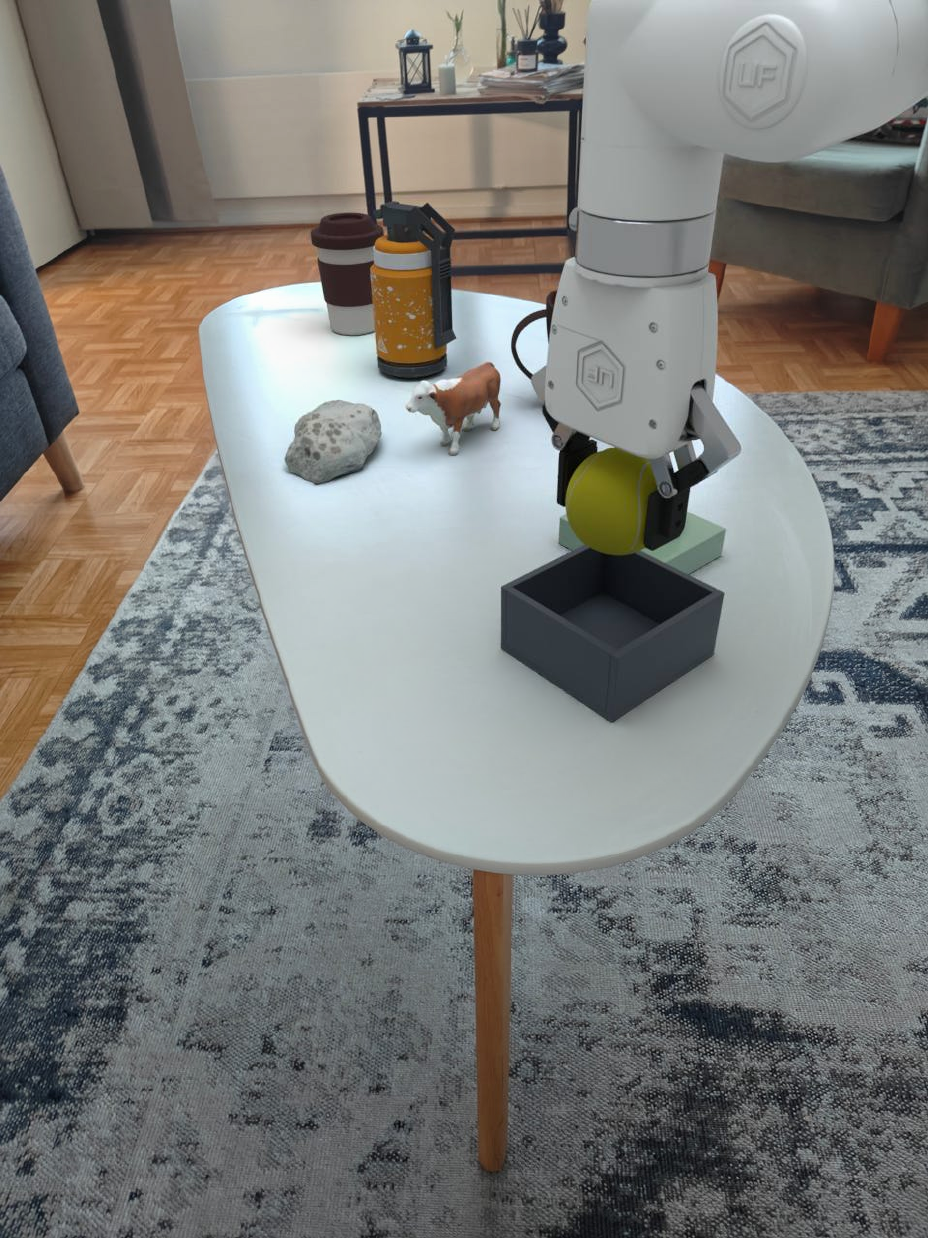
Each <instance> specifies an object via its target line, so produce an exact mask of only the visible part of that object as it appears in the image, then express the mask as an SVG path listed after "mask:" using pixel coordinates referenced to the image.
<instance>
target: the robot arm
mask: <svg viewBox="0 0 928 1238" xmlns="http://www.w3.org/2000/svg"><path fill="white" fill-rule="evenodd" d="M587 9H588V10H587V20H586V31H585V50H584V69H583V86H582V87H583V91H582V110H581V125H580V126H581V127H580V128H581V129H580V148H579V167H578V168H579V170H578V187H577V188H578V189H577V191H578V192H577V206H576V207H574V208H573V209H572V210H571V212H570V214H569V217H568V225H569V228H570V229H571V231H574V232H575V246H574V247H575V249H574V256H573V257H570V258H568V259H566V260H565V262H564V265H563V268H562V271H561V274H560V278H559V283H558V287H557V290H556V291H557V295H556V299H555V304H554V310H553V315H552V322H551V329H550V337H549V344H548V345H547V356H546V357H547V358H546V364H545V365H544V366H542V368H540V369H538V371H536V372H535V373H533V376H532V377H531V380H530V383H531V385H532V388H533V390H534V392H535V394H536V397H537V398H538V401H539V403H540V404H541V405H542V408H541V410H542V411H541V412H542V415H543V417H544V419H545V421H546V423H547V425H548V426H549V428H550V431H551V432H552V435H551V437H550V439H551V441H550V442H551V445H552V447H553V448H554V449H555V450H556V451H559V453H558V461H557V462H558V464H557V483H556V485H557V486H556V504H557V505H559V506H561V507H563V508H566V493H567V488H568V485H569V482H570V480H571V478H572V476H573V474H574V472H575V471H576V469H577V468H578V467H579V465H580V464H581V463H582V462H583V461H584V460H585V459H586V458H588V457H589V456H591V455H592V454H594V453H596V452H598V449H599V448H598V441H599V442H600V443H601V442H602V443H604V444H606V445H609V446H611V447H612V448H614V447H616V448H618V449H621V450H623V451H625V452H628V453H630V454H633V455H636V456H638V457H641V458H646V459H649V461H650V464H651V468H652V471H653V475H654V478H655V482H656V485H657V488H658V490H656V491H654V492H652V493H651V494H650V495H649V497H648V505H647V514H646V522H645V531H644V540H643V544H644V546H645V548H647V549H649V550H651V551H654V550H656V549H658V548H660V547H661V546H663V545H665V544H667V543H669V542H671V541H673V540H674V539H676V538H678V537H679V536H680V535H681V533H682V532H683V530H684V528H685V523H686V516H687V512H688V510H689V509H688V508H689V501H690V493H691V488H692V487H696V485H699V483H701V482H703V481H705V480H706V479H708V478H709V477H711V476H713V475H715V474H716V473H718V471H719V470H720V469H722V468H723V467H725V466H726V465H728V463H730V462H731V461H732V460H734V459H735V458H737V457H738V456H739V455H740V454H741V452H742V446H741V443H740V442H739V440H738V439H737V436H736V435H735V433H734V432H733V431H732V429H731V427H729V424H728V423H727V421H726V420H725V419H724V416H722V414H721V413H720V410H719V409H718V408H717V406H716V405H715V404H714V402H713V401H714V392H715V383H716V373H717V360H718V359H717V358H718V340H719V336H718V335H719V330H718V329H719V310H718V309H719V307H718V306H719V305H718V290H717V279H716V275H715V274H714V273H712V272H709V267H710V259H711V252H712V245H713V237H714V232H715V231H714V230H715V224H716V215H717V206H718V198H719V191H720V184H721V176H722V170H723V162H724V157H725V156H724V155H728V156H732V157H735V158H739V159H742V160H743V159H744V160H749V161H752V162H753V161H754V162H761V163H785V162H791V161H797V160H799V159H800V160H801V159H803V158H806V157H808V156H811V155H815V154H817V153H819V152H821V151H824V150H826V149H829V148H832V147H834V146H836V145H838V144H841V143H843V142H845V141H847V140H850V139H853V138H855V137H858V136H862V135H864V134H866V133H869V132H872V131H874V130H876V129H878V128H881V127H882V126H883V125H885V124H887V123H888V122H890V121H892V120H893V119H895V118H896V117H897V116H900V115H901V114H902V113H904V112H905V111H907V110H908V109H909V110H910V108H912V107H913V106H915V105H916V104H918V103H919V102H920V101H922V100H923V99H925V98H926V97H927V96H928V0H590V2H589V6H588V8H587ZM590 438H592V439H590ZM698 440H700V441H701V443H702V445H703V451H702V453H700V454H699V455H698V457H697V455H696V451H695V448H694V444H693V441H698ZM672 452H673V456H674V460H675V464H676V467H677V470H676V471H675V469H674V466H673V462H672V459H671V455H670V453H672Z"/></svg>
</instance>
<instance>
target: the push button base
mask: <svg viewBox="0 0 928 1238" xmlns="http://www.w3.org/2000/svg"><path fill="white" fill-rule="evenodd" d="M726 532H727V529H726V528H725V527H723V526H721V525H719V524H716V523H714V522H712V521H710V520H708V519H705V518H703V517H701V516H699V515H696V514H694V513H692V512H690V511H687V516H686V523H685V528H684V530H683V532H682V533H681V535H680V536H679V537H678V538H676V539H674V540H673V541H671V542H669V543H667V544H665V545H663V546H661V547H660V548H658V549H656V550H654V551H651V550H649V549H647V548H644V549H642V550H640V551H642V552H644V553H646V554H648V555H650V556H652V557H654V558H656V559H658V560H660V561H662V562H664V563H666V564H668V565H670V566H672V567H674V568H676V569H678V570H680V571H682V572H684V573H686V574H688V575H691V574H692V573H693V572H695V571H698V569H701V568H702V567H705V566H706V565H708V564H709V563H711V562H713V561H714V560H717V558H719V557H721V556H722V555H723V549H724V545H725V537H726ZM558 544H559V545H561V546H563V547H564V548H567V549H569V550H570V551H573V550H575V549H577V548H579V547H581V546H583V545H585V544H584V543H582V542H581V541H580V540H579V539H578V537H577V536H576V535H575V533H574V532H573V530H572V529H571V527H570V525H569V522H568V519H567V515H566V513H565V514H563V515H561V516H560V517H559V522H558Z"/></svg>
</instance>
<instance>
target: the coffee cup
mask: <svg viewBox="0 0 928 1238" xmlns="http://www.w3.org/2000/svg"><path fill="white" fill-rule="evenodd" d="M384 235H385V232H384V228H383V226H381V225H380V224H376V223H374V220H373V219H372V216H370V215H369V214H367V213H363V212H337V213H332V214H331V213H330V214H327V215H324V216H322V217H321V219H320V221H319V224H318V226H317V227H315V228H313V229H312V230H311V231H310V240H311V244H312V246H314V247H316V252H317V259H316V260H317V266H318V272H319V273H318V274H319V278H320V284H321V288H322V295H323V300H324V302H325V303H326V309H327V314H328V320H329V327H330V329H331V330H332V331H333V332H334V333H336V334H339V335H344V336H359V335H366V334H371V333H375V325H374V312H373V300H372V287H371V274H370V268H371V267H372V265H373V264H374V252H373V247H374V246H375V242H376V240H377V239H378V238H380V237H382V236H384Z"/></svg>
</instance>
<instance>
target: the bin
mask: <svg viewBox="0 0 928 1238" xmlns="http://www.w3.org/2000/svg"><path fill="white" fill-rule="evenodd" d="M724 598H725V592H724V591H722V590H721V589H718V588H716V587H714V586H713V585H711V584H708V583H707V582H704V581H702V580H701V579H698V578H696V577H694V576H692V575H691V574H686V573H684V572H682V571H680V570H678V569H676V568H674V567H672V566H670V565H668V564H666V563H664V562H662V561H660V560H658V559H656V558H654V557H652V556H650V555H648V554H646V553H644V552H642V551H638V552H635V553H632V554H628V555H611V554H605V553H602V552H599V551H596V550H594V549H592V548H590V547H588V546H587V545H583V546H581V547H579V548H577V549H575V550H573V551H572V550H570V551H569V552H567V553H565V554H563V555H561V556H559V557H557V558H555V559H553V560H551V561H549V562H547V563H545V564H542V565H541V566H539V567H537V568H535V569H533V570H531V571H529V572H527V573H525V574H523V575H521V576H520V577H517V578H515V579H513V580H512V581H511V580H510V581H509V582H507V583H505V584H504V585H501V586H500V649H501V650H503V651H504V652H506V653H508V654H509V655H510V656H512V657H513V658H515V659H516V660H518V661H519V662H521V663H522V664H523V665H525V666H527V667H528V668H530V669H531V670H533V671H534V672H536V673H537V674H538V675H540V676H542V678H545V679H546V680H547V681H549V682H551V683H552V684H553V685H554V686H557V687H558V688H559V689H561V690H562V691H563V692H565V693H566V694H568V695H569V696H571V697H573V699H576V700H577V701H579V702H580V703H582V704H583V705H585V706H586V707H587V708H589V709H590V710H591V711H593V712H595V713H596V714H598V715H599V716H600V717H602V718H604V719H606V720H607V721H609V722H610V723H613V722H615V721H617V720H618V719H620V718H621V717H623V716H624V715H626V714H628V713H629V712H630V711H631V710H634V709H635V708H636V707H638V706H639V705H641V704H642V703H644V702H646V701H647V700H649V699H650V698H651V697H653V696H654V695H656V694H657V693H658V692H660V691H662V690H663V689H665V688H666V687H668V686H670V685H671V684H672V683H674V682H676V681H677V680H678V679H680V678H681V677H683V676H684V675H686V674H688V672H691V671H692V670H693V669H695V668H696V667H698V666H699V665H701V664H703V663H704V662H706V661H707V660H708V659H709V658H711V657H713V656H714V655H715V649H716V643H717V638H718V633H719V626H720V621H721V617H722V616H721V615H722V610H723V604H724Z"/></svg>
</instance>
